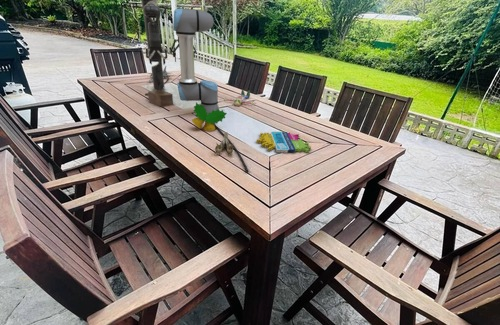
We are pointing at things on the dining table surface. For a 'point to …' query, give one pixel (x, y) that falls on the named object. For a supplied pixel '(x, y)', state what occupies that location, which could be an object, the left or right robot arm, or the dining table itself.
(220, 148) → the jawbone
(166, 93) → the cabinet
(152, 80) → the airplane
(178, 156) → the dining table surface
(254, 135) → the dining table surface
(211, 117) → the ornament
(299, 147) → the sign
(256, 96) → the dining table surface
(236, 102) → the toy
